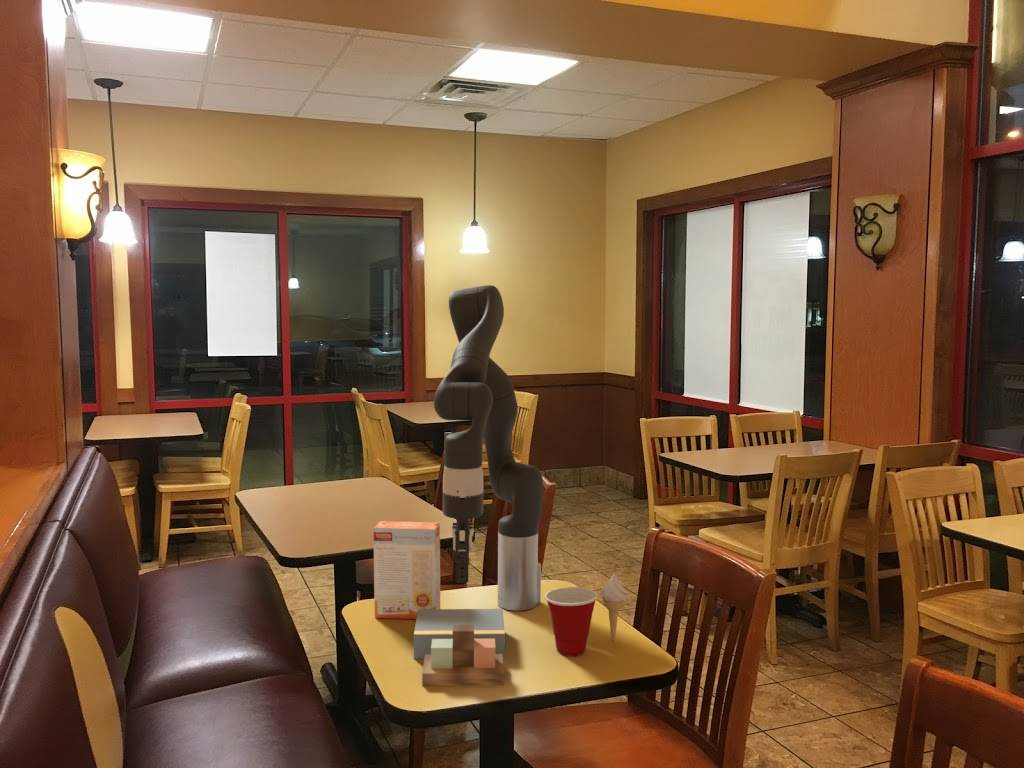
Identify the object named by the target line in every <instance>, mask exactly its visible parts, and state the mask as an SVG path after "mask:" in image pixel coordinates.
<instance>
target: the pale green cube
mask: <svg viewBox="0 0 1024 768" xmlns="http://www.w3.org/2000/svg"><path fill="white" fill-rule="evenodd" d="M431 668H453V639H432V644H431Z"/></svg>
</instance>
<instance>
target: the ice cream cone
mask: <svg viewBox="0 0 1024 768" xmlns="http://www.w3.org/2000/svg"><path fill="white" fill-rule="evenodd" d="M627 595H628V592H627V590H625V588H624V586H623V584H622V583H621V582H620V579H619V578H618V576H617V574H616V572H613V574H612V576H611V578H609V581H607V583H605V585H604V587H603V588H602V589H601V590H600V598H601V599H602V601H603V606H604V607H605V608H606V609H607V611H608V619H609V629H610V640H611V642H613V641H614V642H615V641H616V635H617V633H616V632H617V625H618V619H619V611H620V610H621V609H622V608H623V607H624V604H625V601H626V600H627Z"/></svg>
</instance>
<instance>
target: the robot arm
mask: <svg viewBox="0 0 1024 768" xmlns="http://www.w3.org/2000/svg"><path fill="white" fill-rule="evenodd" d="M502 297H503V296H502V294H501V292H500V291H499V288H497V287H496V286H495V285H491V284H489V285H488V284H487V285H480V286H473V287H469V288H462V289H458V290H454V291H452V292H451V293H450V294H449V297H448V309H449V315H450V318H451V321H452V324H453V328H454V332H455V335H456V338H457V341H458V344H457V345H456V347H455V349H454V350H453V351H454V352H453V355H452V359H451V363H450V369H449V370H448V372H447V373H446V375H445V376H444V377H443V379H442V380H441V382H440V383H439V385H438V386H437V388H436V390H435V393H434V399H433V408H434V412H435V413H436V415H438V417H439V418H441V419H442V420H445V421H458V422H459V421H461V422H462V421H464V422H465V421H468V422H469V421H470V422H472V424H471V425H470V428H468V429H466V430H463V431H457V432H453V433H449V434H447V435H446V436H445V438H444V446H443V447H444V448H443V450H444V451H443V453H444V455H443V456H444V458H443V459H444V460H443V463H444V464H443V474H442V513H443V515H444V516H445V517H446V518H450V519H454V520H455V521H456V522H454V521H452V527H451V535H452V550H453V551H454V552H455V555H454V563H456V565H455V569H456V571H455V581H456V583H458V584H467V583H468V582H469V566H470V561H471V560H470V559H471V558H470V552H472V550H473V549H472V548H473V537H474V528H475V527H474V521H473V522H471V519H476V518H479V517H481V516H482V515H483V513H484V472H483V471H484V470H483V443H484V448H485V453H486V460H487V461H486V462H487V467H488V474H489V483H490V486H491V489H492V492H493V493H494V496H496V497H497V498H498V499H500V500H502V501H505V502H508V503H513V508H512V514H509V515H506V516H503V517H500V519H499V521H498V525H497V529H498V531H497V537H498V538H497V539H498V540H497V605H498V606H499V607H500V608H501V609H503V610H504V609H505V610H509V611H517V612H518V611H527V610H531V609H533V608H535V607H537V605H538V604H541V598H542V595H541V593H542V587H541V586H542V564H541V563H540V562H538V560H539V559H538V557H539V554H538V553H539V545H538V544H539V525H540V522H541V519H542V513H543V509H542V508H543V496H544V479H543V475H542V472H541V470H540V469H539V468H538V467H536V466H535V465H531V464H526V463H522V462H517V461H516V460H515V457H514V453H513V450H512V445H511V437H512V432H513V429H514V427H515V425H516V421H517V418H518V412H519V406H518V401H517V396H516V392H515V387H514V384H513V382H512V379H511V378H510V376H509V375H508V373H507V372H505V371H504V369H502V367H501V366H500V365H498V363H497V362H495V361H494V360H493V359H492V358H491V357H490V355H491V353H492V352H491V351H492V350H493V346H494V344H495V342H496V340H497V337H498V335H499V333H500V329H501V328H502V325H503V321H504V315H505V310H504V309H505V308H504V302H503V298H502Z"/></svg>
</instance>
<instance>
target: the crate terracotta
mask: <svg viewBox="0 0 1024 768" xmlns="http://www.w3.org/2000/svg"><path fill="white" fill-rule="evenodd" d="M474 668H495V639H474Z"/></svg>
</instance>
